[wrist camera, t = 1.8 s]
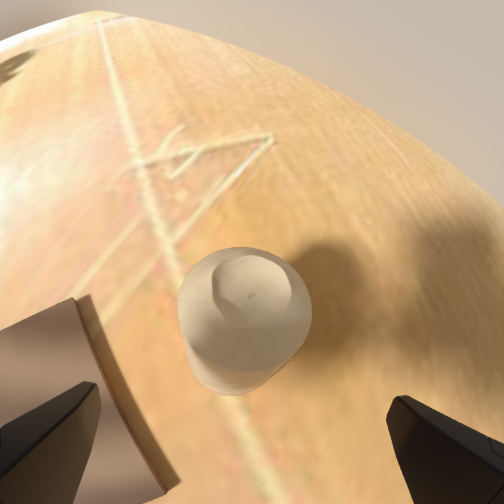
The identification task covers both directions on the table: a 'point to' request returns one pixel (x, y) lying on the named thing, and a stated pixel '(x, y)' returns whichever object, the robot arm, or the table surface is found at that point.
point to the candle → (242, 318)
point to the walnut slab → (61, 379)
